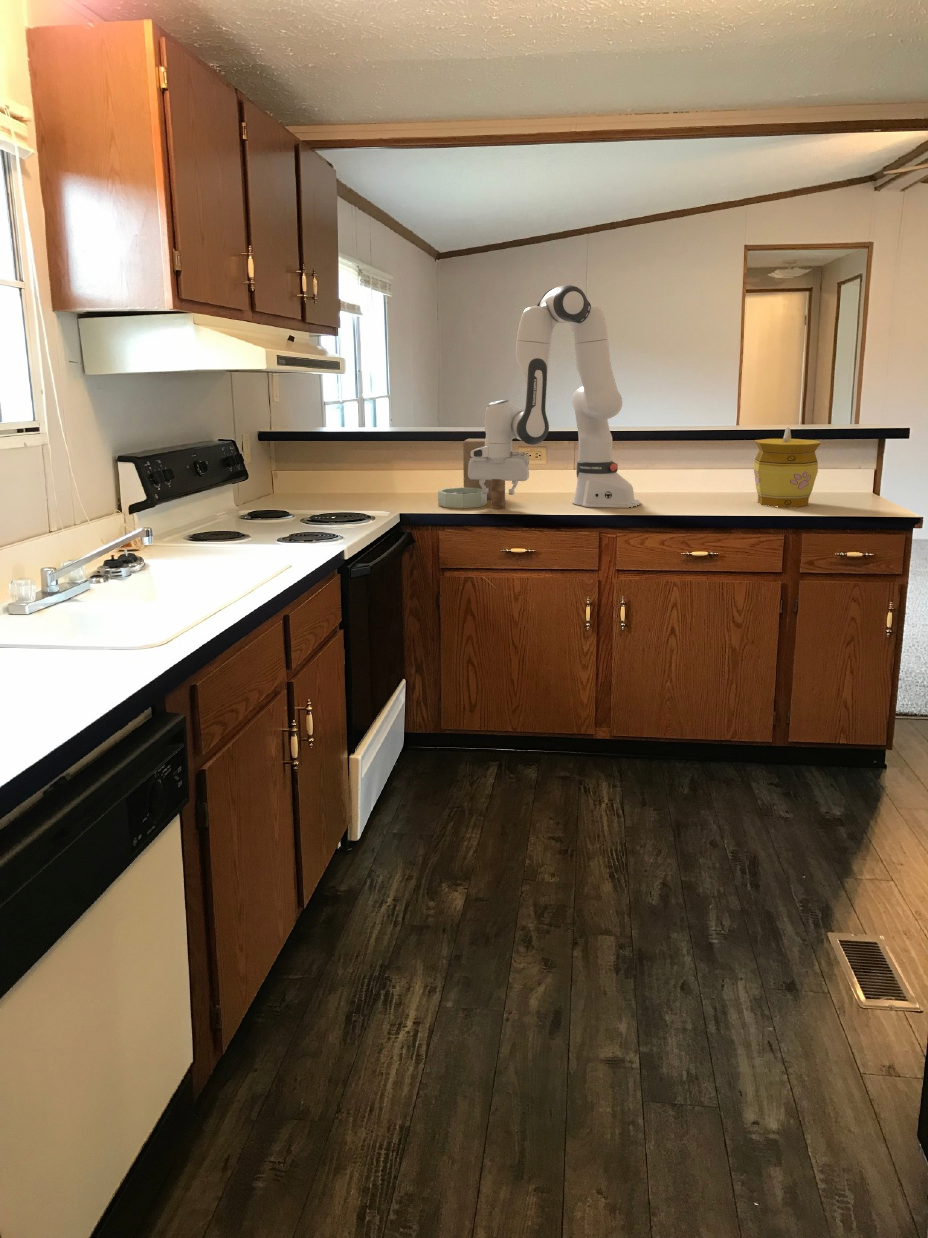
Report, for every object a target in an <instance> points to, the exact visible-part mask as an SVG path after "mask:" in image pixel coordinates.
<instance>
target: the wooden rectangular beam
mask: <svg viewBox="0 0 928 1238" xmlns="http://www.w3.org/2000/svg"><path fill="white" fill-rule="evenodd" d="M505 508H506V481H503V480H502V479H492V499H491V509H492V510H493V509H494V510H503V509H505Z"/></svg>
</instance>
